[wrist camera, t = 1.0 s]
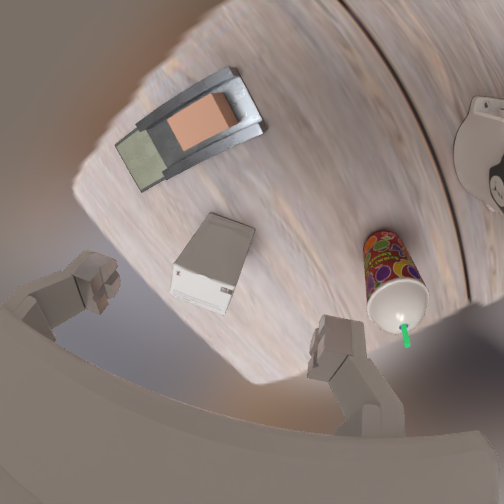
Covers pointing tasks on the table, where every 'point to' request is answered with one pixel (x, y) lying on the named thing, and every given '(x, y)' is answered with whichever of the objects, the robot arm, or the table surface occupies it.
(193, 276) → the skincare box
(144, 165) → the chute
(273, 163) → the table surface
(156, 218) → the table surface
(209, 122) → the block
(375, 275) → the smoothie
